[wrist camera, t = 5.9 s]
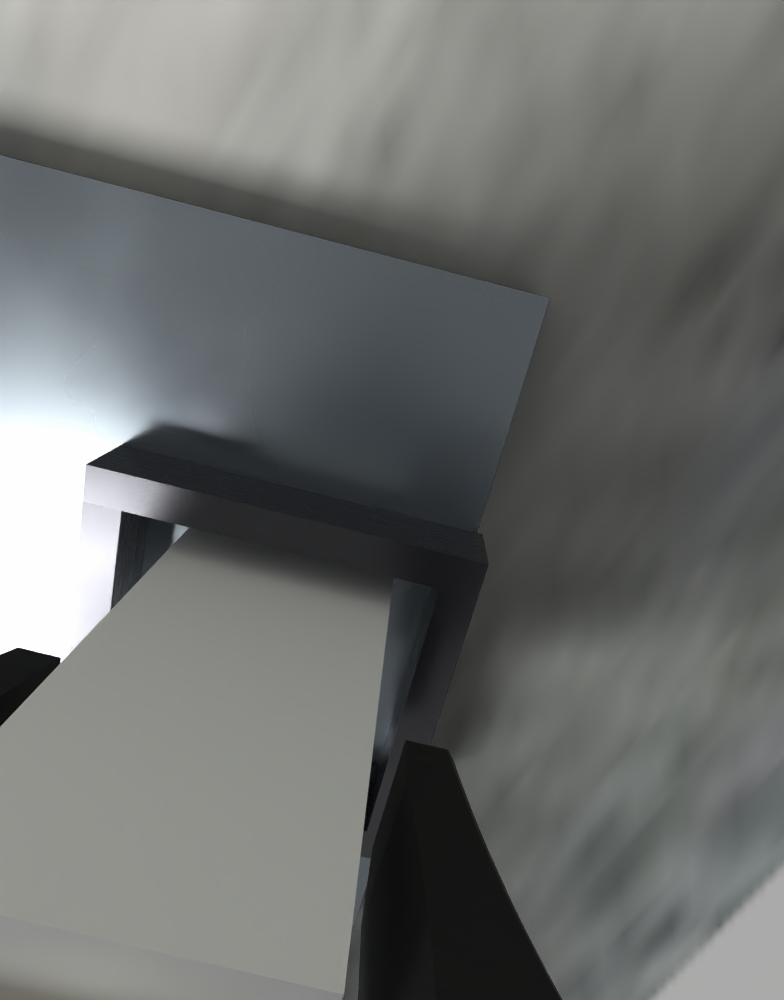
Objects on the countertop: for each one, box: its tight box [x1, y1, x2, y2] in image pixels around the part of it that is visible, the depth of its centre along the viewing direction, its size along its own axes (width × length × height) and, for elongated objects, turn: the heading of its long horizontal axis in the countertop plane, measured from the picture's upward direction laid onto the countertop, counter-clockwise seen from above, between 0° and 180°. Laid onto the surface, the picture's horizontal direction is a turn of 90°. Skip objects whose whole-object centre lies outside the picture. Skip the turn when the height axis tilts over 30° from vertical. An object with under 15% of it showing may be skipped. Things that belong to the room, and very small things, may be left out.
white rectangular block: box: [0, 528, 393, 1000], centre depth 8 cm, size 4×4×8 cm
